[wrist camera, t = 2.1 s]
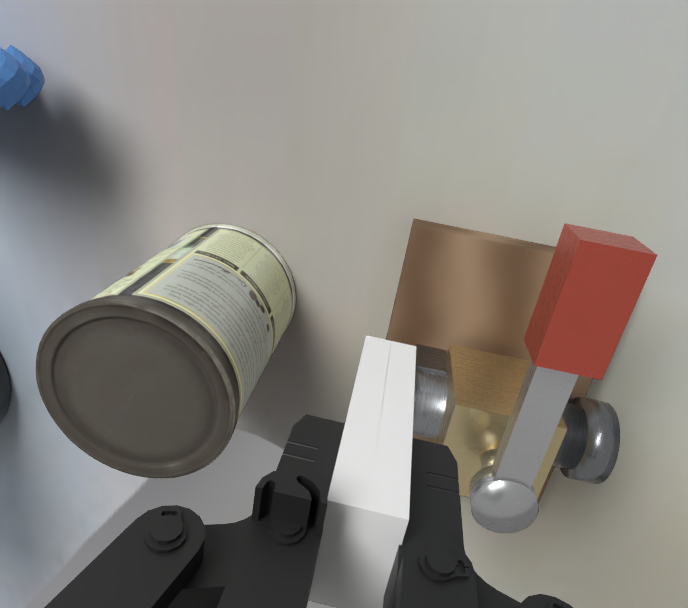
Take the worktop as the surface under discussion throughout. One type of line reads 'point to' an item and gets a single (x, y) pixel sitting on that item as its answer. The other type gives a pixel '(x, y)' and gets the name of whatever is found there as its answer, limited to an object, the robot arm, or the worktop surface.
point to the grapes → (18, 78)
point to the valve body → (503, 416)
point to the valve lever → (560, 361)
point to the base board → (470, 293)
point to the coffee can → (168, 353)
